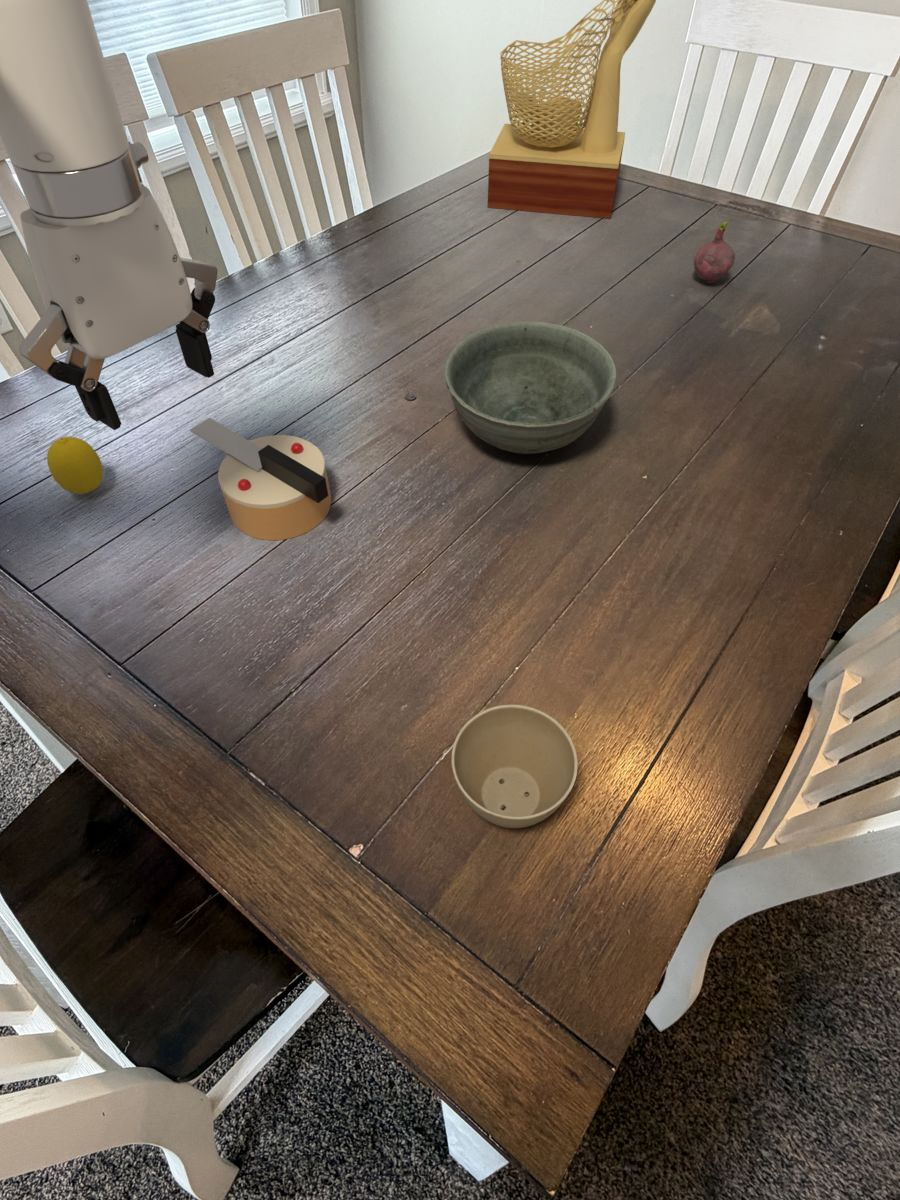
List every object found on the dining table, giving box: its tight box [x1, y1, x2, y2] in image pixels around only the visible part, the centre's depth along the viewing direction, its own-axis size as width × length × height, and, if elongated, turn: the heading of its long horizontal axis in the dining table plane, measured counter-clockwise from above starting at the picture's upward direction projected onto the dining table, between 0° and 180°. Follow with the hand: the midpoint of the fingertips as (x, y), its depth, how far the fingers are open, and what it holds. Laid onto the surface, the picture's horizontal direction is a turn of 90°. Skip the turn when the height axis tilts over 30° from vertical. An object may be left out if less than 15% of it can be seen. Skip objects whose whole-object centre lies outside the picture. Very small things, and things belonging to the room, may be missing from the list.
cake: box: [217, 434, 332, 541], centre depth 85 cm, size 12×12×6 cm
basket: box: [487, 0, 657, 219], centre depth 128 cm, size 25×18×35 cm
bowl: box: [443, 320, 617, 455], centre depth 91 cm, size 21×21×10 cm
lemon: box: [46, 436, 104, 495], centre depth 86 cm, size 6×6×8 cm
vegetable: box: [693, 221, 736, 284], centre depth 116 cm, size 6×6×10 cm
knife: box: [189, 417, 328, 503], centre depth 83 cm, size 3×21×3 cm, turn 51°
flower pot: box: [451, 704, 579, 829], centre depth 61 cm, size 10×10×7 cm
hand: (156, 396), depth 63 cm, fingers open, 9 cm apart
